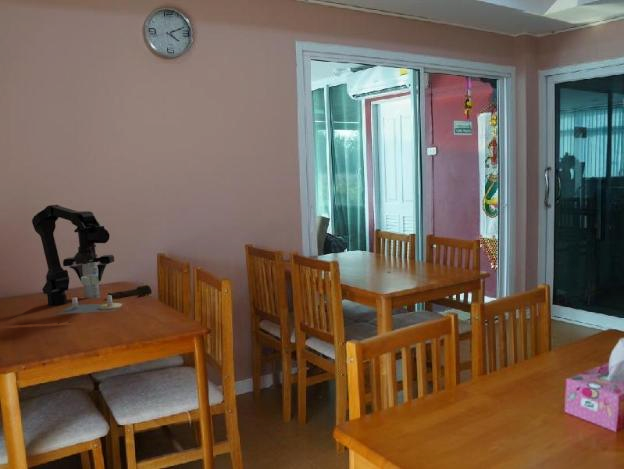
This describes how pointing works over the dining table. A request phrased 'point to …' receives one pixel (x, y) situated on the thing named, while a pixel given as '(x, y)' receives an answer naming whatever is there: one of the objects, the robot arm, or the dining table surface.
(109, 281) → the dining table surface
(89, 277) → the ring
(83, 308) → the rod board
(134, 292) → the hand tool
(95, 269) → the spray can
